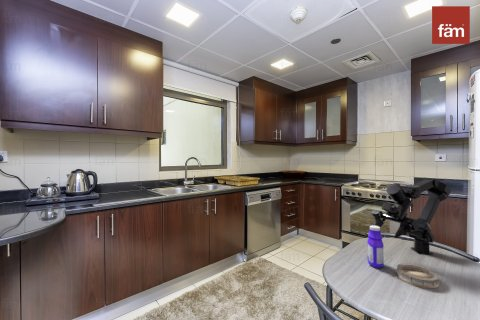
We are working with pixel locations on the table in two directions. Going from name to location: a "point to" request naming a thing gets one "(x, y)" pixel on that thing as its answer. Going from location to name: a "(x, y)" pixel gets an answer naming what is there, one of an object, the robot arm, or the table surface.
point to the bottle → (375, 247)
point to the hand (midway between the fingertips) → (384, 234)
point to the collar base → (418, 275)
